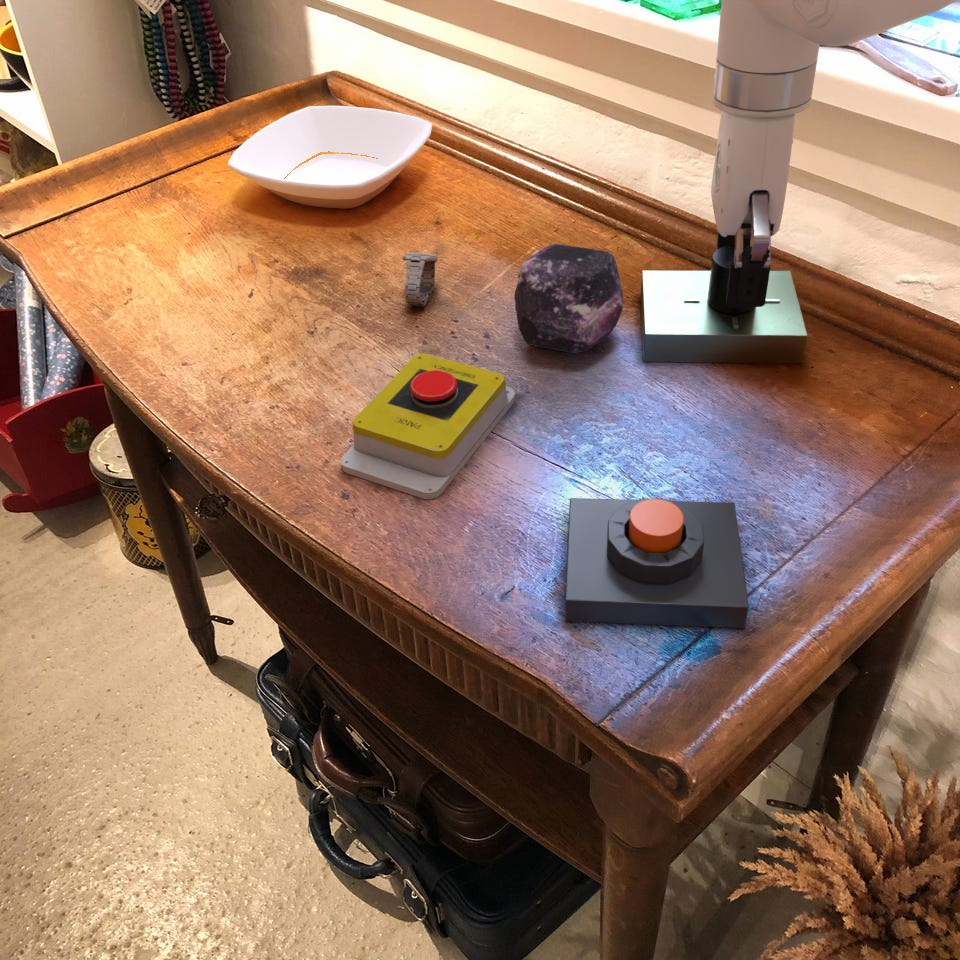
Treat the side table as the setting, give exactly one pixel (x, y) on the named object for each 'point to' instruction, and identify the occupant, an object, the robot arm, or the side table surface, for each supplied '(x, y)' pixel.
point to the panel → (718, 322)
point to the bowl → (331, 174)
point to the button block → (655, 568)
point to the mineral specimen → (568, 297)
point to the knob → (722, 280)
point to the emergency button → (426, 425)
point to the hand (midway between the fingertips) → (739, 276)
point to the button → (656, 526)
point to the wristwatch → (419, 278)
